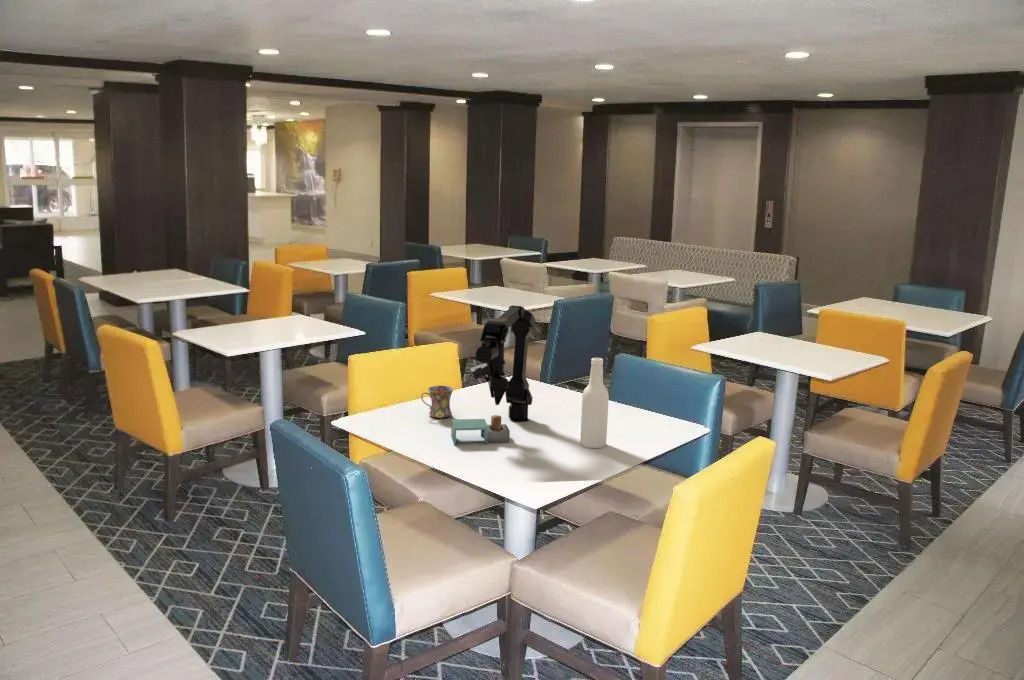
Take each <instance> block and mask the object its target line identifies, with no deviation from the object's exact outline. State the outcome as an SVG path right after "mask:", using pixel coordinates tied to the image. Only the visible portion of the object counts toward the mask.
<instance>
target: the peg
mask: <svg viewBox="0 0 1024 680" xmlns="http://www.w3.org/2000/svg"><path fill="white" fill-rule="evenodd" d="M501 424H502V416H501V415H499V414H497V415H491V417H490V425H491V430H501Z"/></svg>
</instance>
